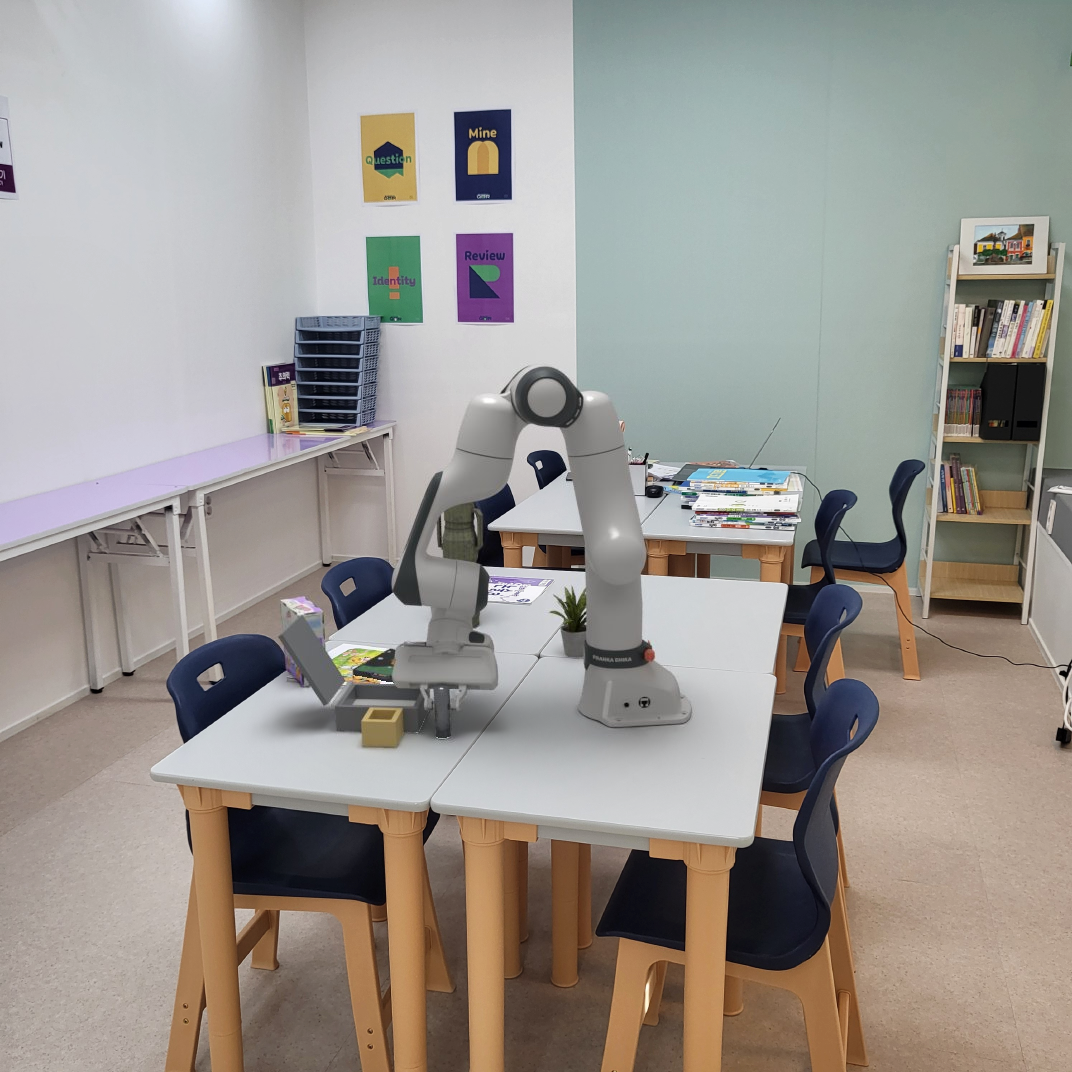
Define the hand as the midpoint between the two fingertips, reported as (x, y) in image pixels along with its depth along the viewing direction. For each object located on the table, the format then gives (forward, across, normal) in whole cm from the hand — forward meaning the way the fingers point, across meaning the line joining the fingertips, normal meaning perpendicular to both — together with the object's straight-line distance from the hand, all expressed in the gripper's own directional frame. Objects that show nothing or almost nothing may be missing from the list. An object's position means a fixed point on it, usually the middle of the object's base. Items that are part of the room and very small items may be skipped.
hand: (441, 709), depth 186 cm
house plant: (-28, +23, +36) cm, 51 cm away
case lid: (-10, -26, +1) cm, 28 cm away
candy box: (-17, -36, +25) cm, 47 cm away
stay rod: (+4, 0, +4) cm, 6 cm away
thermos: (-43, -7, +51) cm, 67 cm away
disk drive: (-19, -18, +28) cm, 39 cm away
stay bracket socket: (+5, -11, +3) cm, 12 cm away
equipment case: (-1, -13, +9) cm, 16 cm away
